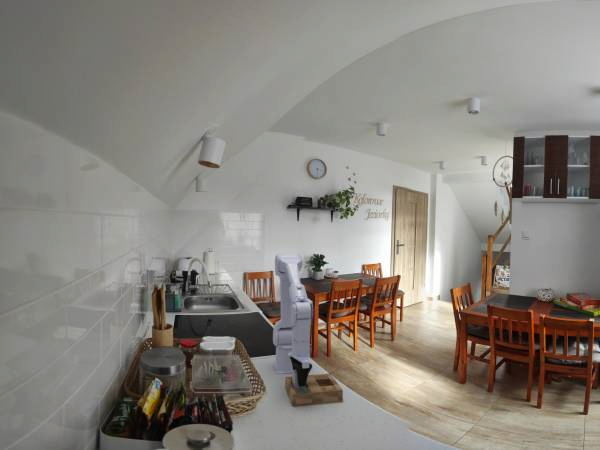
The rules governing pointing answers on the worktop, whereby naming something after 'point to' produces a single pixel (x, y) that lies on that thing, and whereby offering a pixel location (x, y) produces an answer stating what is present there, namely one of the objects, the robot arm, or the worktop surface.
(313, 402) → the port block
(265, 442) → the worktop surface
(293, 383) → the matte gray box
